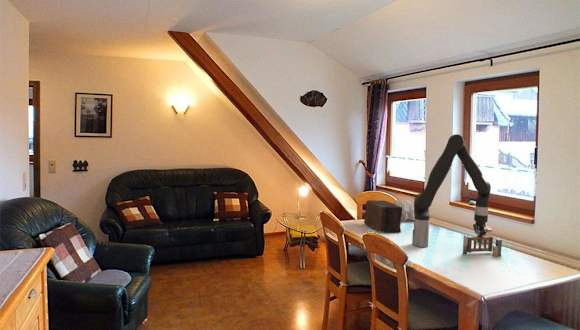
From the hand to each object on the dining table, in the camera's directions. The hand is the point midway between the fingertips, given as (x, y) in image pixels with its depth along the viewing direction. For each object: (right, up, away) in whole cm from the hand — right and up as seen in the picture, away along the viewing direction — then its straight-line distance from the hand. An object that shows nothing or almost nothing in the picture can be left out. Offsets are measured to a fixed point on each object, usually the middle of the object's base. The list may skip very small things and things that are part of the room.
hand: (479, 241), depth 254 cm
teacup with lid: (+14, -5, +26) cm, 30 cm away
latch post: (+7, -7, -7) cm, 12 cm away
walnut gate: (-1, -6, -3) cm, 7 cm away
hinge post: (-11, -7, -5) cm, 14 cm away
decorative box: (-47, -1, +55) cm, 73 cm away
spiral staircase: (-20, +1, +85) cm, 87 cm away
